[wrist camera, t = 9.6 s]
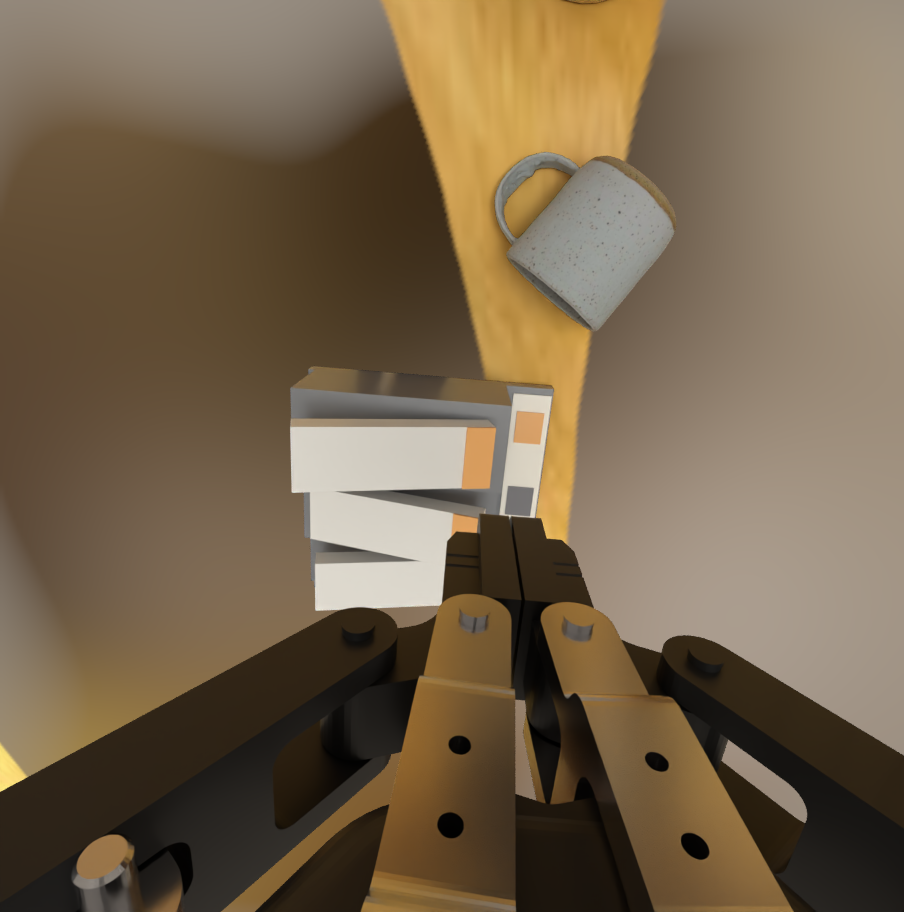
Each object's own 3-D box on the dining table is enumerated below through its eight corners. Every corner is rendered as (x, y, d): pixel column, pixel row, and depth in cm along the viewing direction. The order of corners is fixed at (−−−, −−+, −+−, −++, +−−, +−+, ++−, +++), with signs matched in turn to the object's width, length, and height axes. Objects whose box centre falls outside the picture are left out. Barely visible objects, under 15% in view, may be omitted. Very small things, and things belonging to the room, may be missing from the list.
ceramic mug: (663, 231, 38) (707, 223, 30) (581, 327, 40) (604, 341, 33) (544, 123, 36) (562, 87, 28) (466, 231, 38) (464, 223, 31)
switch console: (312, 365, 41) (276, 391, 34) (551, 385, 41) (570, 415, 34) (314, 572, 48) (284, 634, 40) (522, 590, 48) (532, 656, 40)
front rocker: (291, 418, 32) (290, 427, 30) (487, 419, 35) (496, 428, 33) (292, 481, 33) (291, 493, 32) (481, 477, 36) (489, 488, 35)
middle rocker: (320, 478, 39) (308, 487, 38) (485, 508, 37) (480, 519, 35) (321, 528, 41) (309, 539, 39) (480, 560, 38) (474, 573, 36)
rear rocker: (316, 552, 41) (315, 564, 40) (472, 549, 44) (477, 560, 42) (316, 598, 43) (315, 611, 41) (468, 592, 45) (472, 605, 43)
